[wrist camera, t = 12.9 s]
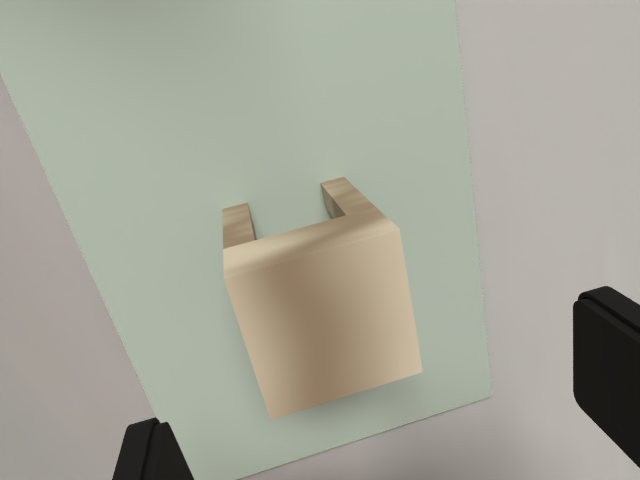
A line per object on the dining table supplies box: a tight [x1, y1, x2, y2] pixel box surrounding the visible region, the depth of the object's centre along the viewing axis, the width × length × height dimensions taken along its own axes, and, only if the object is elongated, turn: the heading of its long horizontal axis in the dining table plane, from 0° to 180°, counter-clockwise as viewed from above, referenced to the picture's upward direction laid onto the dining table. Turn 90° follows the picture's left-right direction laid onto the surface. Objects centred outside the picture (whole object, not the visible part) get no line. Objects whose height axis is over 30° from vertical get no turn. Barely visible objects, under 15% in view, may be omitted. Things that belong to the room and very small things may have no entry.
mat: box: [0, 0, 493, 480], centre depth 20 cm, size 16×22×1 cm
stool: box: [222, 177, 423, 420], centre depth 17 cm, size 5×5×6 cm
